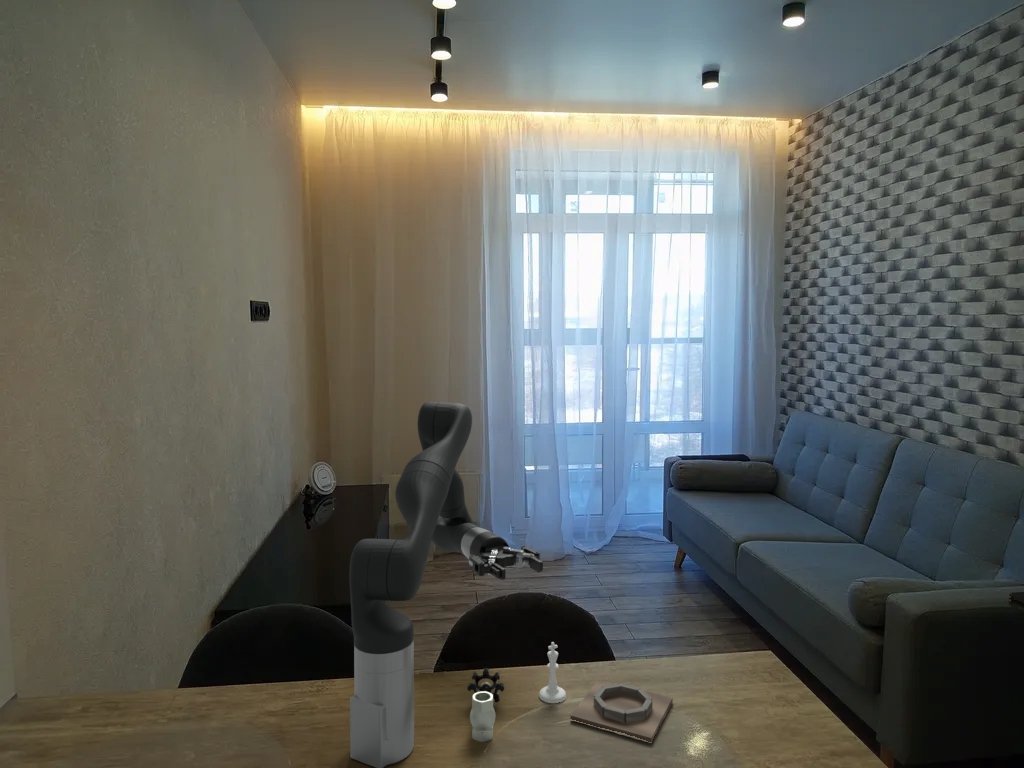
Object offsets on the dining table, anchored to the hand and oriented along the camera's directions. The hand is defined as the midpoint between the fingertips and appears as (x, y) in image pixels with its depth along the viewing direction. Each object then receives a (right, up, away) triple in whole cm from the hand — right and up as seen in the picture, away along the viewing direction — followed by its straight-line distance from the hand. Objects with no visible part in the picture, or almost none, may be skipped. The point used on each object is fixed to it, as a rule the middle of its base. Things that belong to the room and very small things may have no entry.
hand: (522, 571), depth 125 cm
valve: (-7, -21, -17) cm, 28 cm away
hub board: (+17, -21, -13) cm, 30 cm away
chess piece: (+5, -21, -8) cm, 23 cm away
